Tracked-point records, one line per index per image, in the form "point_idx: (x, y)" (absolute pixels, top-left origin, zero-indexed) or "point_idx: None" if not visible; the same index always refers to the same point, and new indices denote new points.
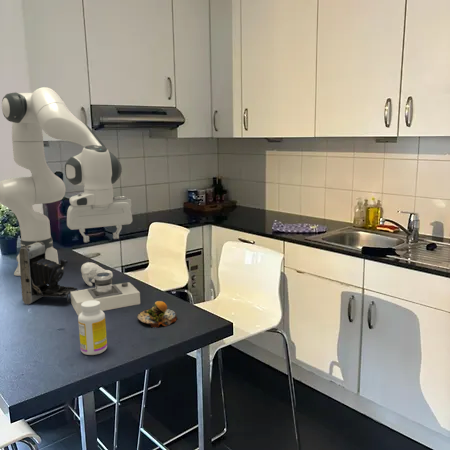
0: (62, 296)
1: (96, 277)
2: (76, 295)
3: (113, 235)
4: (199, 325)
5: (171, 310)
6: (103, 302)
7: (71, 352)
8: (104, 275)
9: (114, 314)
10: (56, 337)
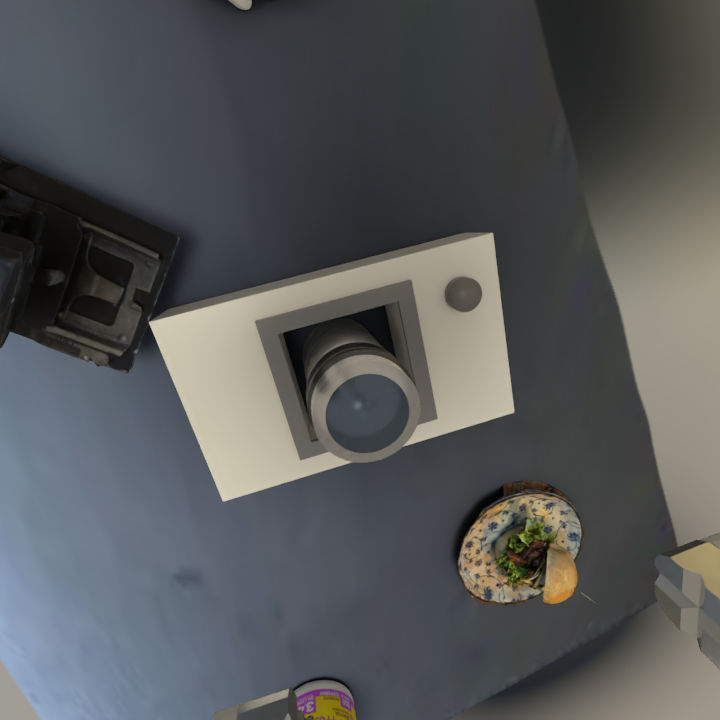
0: (115, 366)
1: (324, 445)
2: (201, 396)
3: (701, 573)
4: (612, 588)
5: (576, 518)
6: None
7: None
8: (377, 441)
9: (378, 478)
10: (186, 633)
